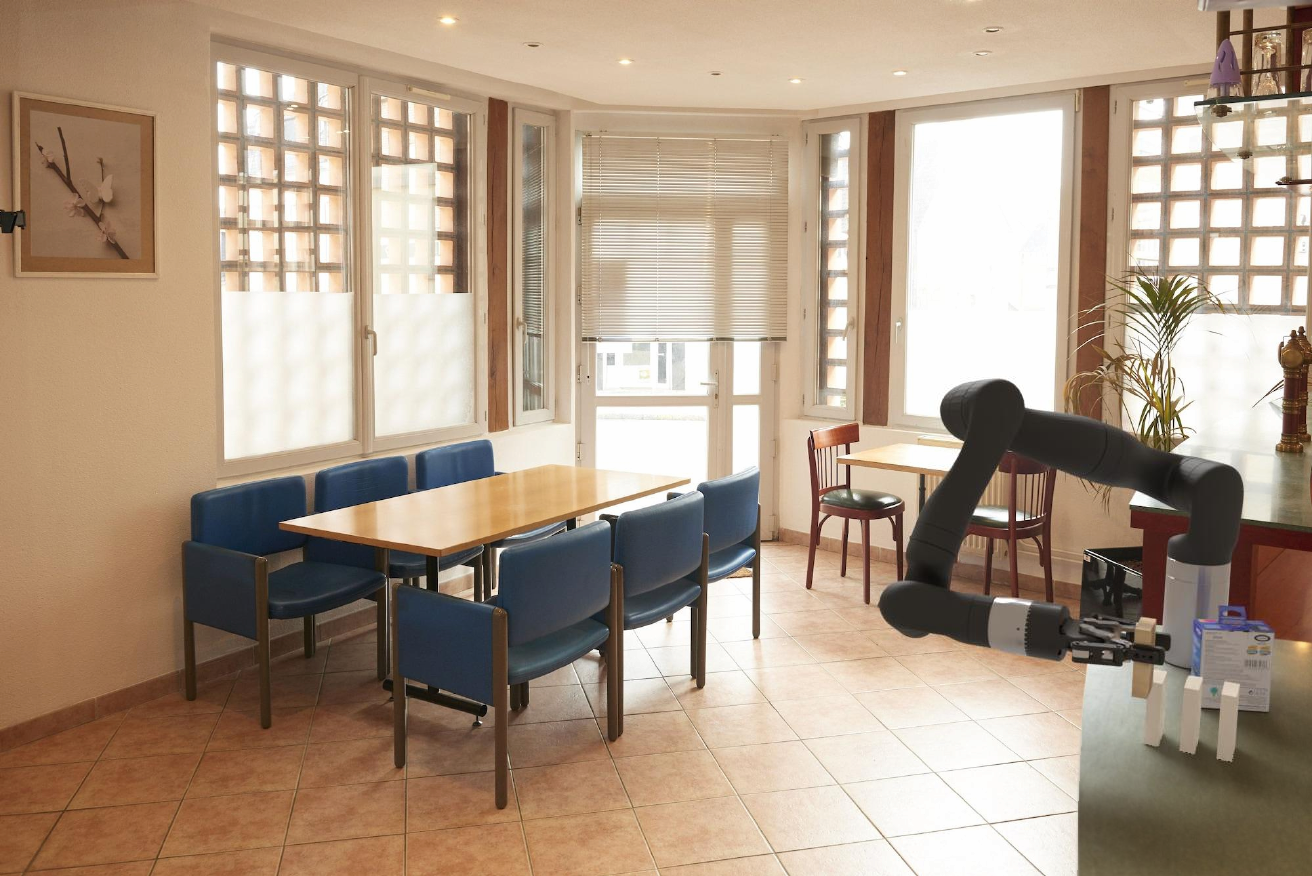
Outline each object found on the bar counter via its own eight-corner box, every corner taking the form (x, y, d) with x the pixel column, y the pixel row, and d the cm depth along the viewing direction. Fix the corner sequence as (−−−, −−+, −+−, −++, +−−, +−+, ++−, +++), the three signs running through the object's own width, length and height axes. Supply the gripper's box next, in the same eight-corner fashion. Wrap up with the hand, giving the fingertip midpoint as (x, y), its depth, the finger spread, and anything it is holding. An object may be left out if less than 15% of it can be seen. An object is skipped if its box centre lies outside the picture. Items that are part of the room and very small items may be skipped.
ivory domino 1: (1149, 730, 149) (1153, 669, 148) (1163, 733, 149) (1167, 671, 147) (1143, 744, 145) (1147, 681, 144) (1158, 747, 144) (1162, 683, 143)
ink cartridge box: (1258, 698, 160) (1265, 605, 157) (1271, 713, 154) (1279, 617, 152) (1186, 694, 162) (1193, 601, 159) (1197, 709, 156) (1204, 613, 154)
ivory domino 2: (1184, 737, 147) (1188, 675, 146) (1198, 740, 146) (1203, 677, 145) (1179, 751, 143) (1183, 687, 141) (1194, 754, 142) (1199, 690, 141)
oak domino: (1137, 682, 140) (1141, 617, 138) (1152, 685, 139) (1156, 619, 137) (1131, 696, 136) (1134, 628, 134) (1146, 699, 135) (1150, 631, 133)
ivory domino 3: (1219, 744, 145) (1224, 681, 143) (1235, 747, 144) (1239, 684, 142) (1216, 759, 141) (1221, 694, 139) (1232, 762, 140) (1237, 697, 138)
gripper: (1016, 617, 137) (1161, 639, 128) (1042, 586, 149) (1176, 604, 140) (1014, 672, 138) (1158, 698, 130) (1040, 637, 150) (1173, 659, 141)
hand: (1167, 649), depth 135 cm, fingers closed on oak domino, 5 cm apart
